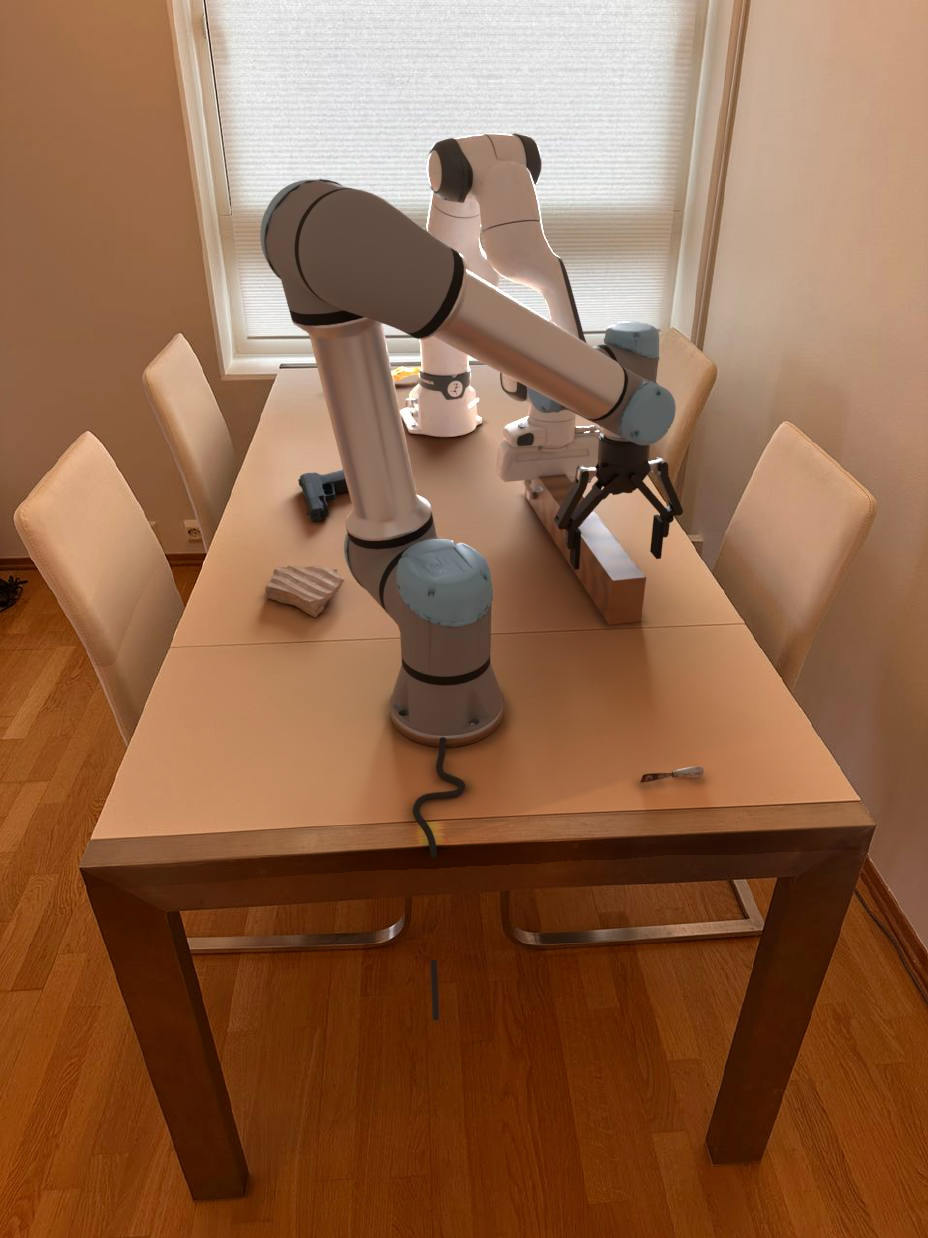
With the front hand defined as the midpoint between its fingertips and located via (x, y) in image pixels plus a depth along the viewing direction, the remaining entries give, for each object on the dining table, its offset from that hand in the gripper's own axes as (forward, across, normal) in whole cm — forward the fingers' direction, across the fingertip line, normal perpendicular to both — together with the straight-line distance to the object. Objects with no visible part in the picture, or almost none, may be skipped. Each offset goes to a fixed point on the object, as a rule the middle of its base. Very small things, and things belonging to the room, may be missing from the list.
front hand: (615, 560), depth 142 cm
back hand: (+5, 0, -36) cm, 36 cm away
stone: (+6, +49, -12) cm, 51 cm away
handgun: (+7, +42, -49) cm, 64 cm away
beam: (+7, 0, -18) cm, 19 cm away
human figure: (+8, +23, -122) cm, 125 cm away
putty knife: (+7, +8, +43) cm, 44 cm away
